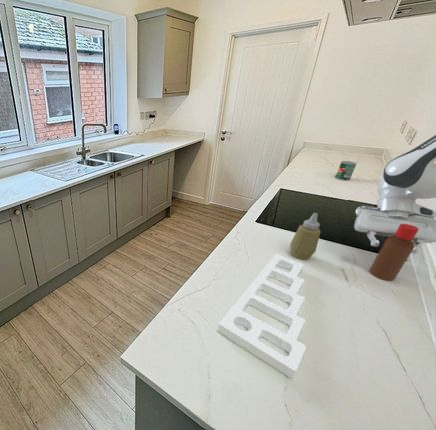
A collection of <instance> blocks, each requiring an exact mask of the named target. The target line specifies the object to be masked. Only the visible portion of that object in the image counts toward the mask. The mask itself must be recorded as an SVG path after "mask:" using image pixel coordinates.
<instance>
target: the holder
mask: <svg viewBox="0 0 436 430" xmlns="http://www.w3.org/2000/svg"><path fill="white" fill-rule="evenodd" d="M304 266H305V264H304V263H302V262H299V261H297V260H294V259H291V258H288V257H286V256H283V255H281V254H278V253H275V254H274V256H273V257H272V258H271V259H270V260H269V261H268V262H267V264H266V265H265V267H264V268H263V269H262V270H261V271H260V272H259V273H258V275H257V276H256V277H255V278H254V280H253V281H252V282H251V283H250V284H249V286H248V287H247V288H246V290H245V291H244V292H243V293H242V294H241V295H240V297H239V298H238V299H237V300H236V302H235V303H234V304H233V305H232V306H231V308H230V309H228V311H227V313H226V314H224V316H223V318H222V319H221V320H220V321H219V322H218V326H217V329H216V330H217V332H218V333H220V334H221V335H222V336H224V337H226V338H228V339H229V340H230V341H232V342H233V343H236V344H237V345H239V346H240V347H242V348H243V349H245V350H246V351H248V352H249V353H251V354H252V355H254V356H256V357H257V358H259V359H260V360H261V361H264V362H265V363H266V364H268V365H269V366H271V367H272V368H274V369H275V370H277V371H278V372H280V373H282V374H283V375H285V376H287V377H288V378H289V379H293V378H294V376H295V374H296V372H297V369H298V367H299V365H300V363H301V360H302V358H303V356H304V354H305V351H306V349H307V345H305V344H304V343H303V342H301V341H298V337H299V335H300V333H301V331H302V329H303V327H304V325H305V323H306V319H305V318H304V317H301V316H300V315H298V314H299V312H300V310H301V308H302V306H303V304H304V301H305V300H306V298H305V297H304V296H302V295H300V294H299V292H300V291H301V289H302V287H303V284H304V282H305V279H304V278H302V277H299V276H300V274H301V273H302V271H303V268H304ZM278 267H281V268H283V269H286V270H288V271H289V272H288V271H285V270H282V269H281V268H278ZM270 278H273V279H274V280H277V281H280V282H281V283H284V284H287V285H289V288H285V287H282V286H280V285H278V284H276V283H274V282H271V281H269V279H270ZM259 291H262V292H265V293H267V294H269V295H271V296H273V297H275V298H277V299H280V300H281V301H283V302H286V303H288V304H289V306H288V308H283V307H281V306H280V305H277V304H276V303H274V302H272V301H270V300H268V299H266V298H264V297H262V296H260V295H257V294H258V293H259ZM248 306H251V307H254V308H255V309H256V310H259V311H261V312H263V313H265V314H266V315H268V316H270V317H272V318H274V319H276V320H278V321H280V322H281V323H284V324H285V325H288V327H289V328H288V329H287V332H283V331H281V330H279V329H276V328H275V327H274V326H271V325H270V324H268V323H267V322H264V321H263V320H260V319H258V318H257V317H255V316H253V315H251V314H250V313H248V312H246V311H245V310H246V309H247V307H248ZM236 325H242V326H243V327H245V328H246V329H247V330H243V329H240V328H238V327H237V326H236ZM260 338H264V339H265V340H267V341H268V342H270V343H272V344H274V345H276V346H277V347H279V348H280V349H283V350H284V351H285V352H286V353H288V356H286V355H284V354H282V353H280V352H279V351H277V350H275V349H273V348H271V346H269V345H267V344H265V343H264V342H262V341H260Z"/></svg>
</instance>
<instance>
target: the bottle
mask: <svg viewBox="0 0 436 430" xmlns="http://www.w3.org/2000/svg"><path fill="white" fill-rule="evenodd" d="M414 245H415V244H414V243H413V241H412V240H405V239H402V238H399V237H397V236H395V235H394V236H390V237H389V236H387V237H386V238H385V240H384V242H383V244H382V245H381V247H380V249H379V252H378V253H377V255H376V256H375V258H374V260H373V262H372V264H371V266H370V267H369V269H368V272H369V274H370V275H372V276H373V277H375V278H377V279H379V280H382V281H386V282H393V281H395V279H396V278H397V276H398V275H399V273H400V272H401V270H402V268H403V267H404V265H405V263H406V262H407V260H408V259H409V257H410V256H411V254H412V253H411V252H412V250H413V249H414V247H415V246H414Z"/></svg>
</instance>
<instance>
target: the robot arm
mask: <svg viewBox="0 0 436 430" xmlns="http://www.w3.org/2000/svg"><path fill="white" fill-rule="evenodd" d="M435 162H436V134H435V135H433V136H431V137H430V138H428V139H427V140H425V141H423V142H422V143H420V144H419V145H417V146H416V147H414V148H412V149H411V150H409V151H406V152H404V153H401V155H398V156H397V157H394V158H392V159H391V160H390V161H388V163H387V164H386V165H385V167H384V169H383V171H382V172H381V174H380V177H379V181H378V189H377V192H378V199H377V201H376V202H377V204H376V207H375V206H367V205H362V206H358V207H356V209H355V215H356V217H355V221H354V225H353V228H354V230H355V231H356V232H360V233H366V236H367V238H368V239H369V241H370V246H371V247H375V248H377V247H379V246H380V240H378V239H377V238H376V235H379V236H383V237H390V236H394V235H395V233H396V231H397V229H398V227H399V226H400V224H408V225H412V226H415V227H417V228H418V229H419V230H418V232H417V233H416V235H415V237H414V238H413V240H412V242H413V243H414V246H415V247H414V249H413V250H412V252H411V254H413V255H415V254H418V253H419V248H420V247H421V246H422V245H423V244H432V243H436V219H435V218H436V210H434V209H431V208H428V207H426V206H423V205H421V204H418V203H416V200H418V199H420V200H422V199H423V200H425V199H426V200H427V199H434V198H436V163H435Z"/></svg>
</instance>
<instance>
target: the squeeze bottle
mask: <svg viewBox="0 0 436 430" xmlns="http://www.w3.org/2000/svg"><path fill="white" fill-rule="evenodd" d="M318 216H319V214H318V213H317V212H314V213H312V215H311V216H310V218H309V219H305V220H304V221H303V224H300V225H299V226H298V228H297V230H296V231H295V234H294V236H293V237H292V239H291V241H290V244H289V246H290V254H291V255H292V256H293V257H294V258H296V259H299V260H305V261H306V260H309V258H311V257H312V256H313V255H314V254H315V253H316V251H317V247H318V243H319V240H320V237H321V236H320V235H321V229H320V225H321V224H320V223H319V222H318Z"/></svg>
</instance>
